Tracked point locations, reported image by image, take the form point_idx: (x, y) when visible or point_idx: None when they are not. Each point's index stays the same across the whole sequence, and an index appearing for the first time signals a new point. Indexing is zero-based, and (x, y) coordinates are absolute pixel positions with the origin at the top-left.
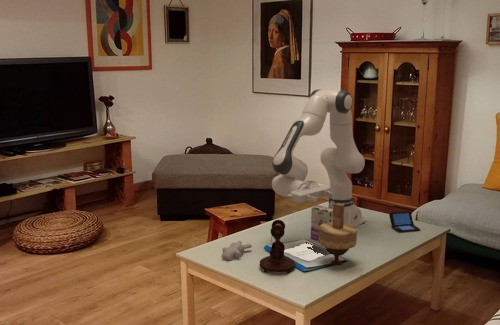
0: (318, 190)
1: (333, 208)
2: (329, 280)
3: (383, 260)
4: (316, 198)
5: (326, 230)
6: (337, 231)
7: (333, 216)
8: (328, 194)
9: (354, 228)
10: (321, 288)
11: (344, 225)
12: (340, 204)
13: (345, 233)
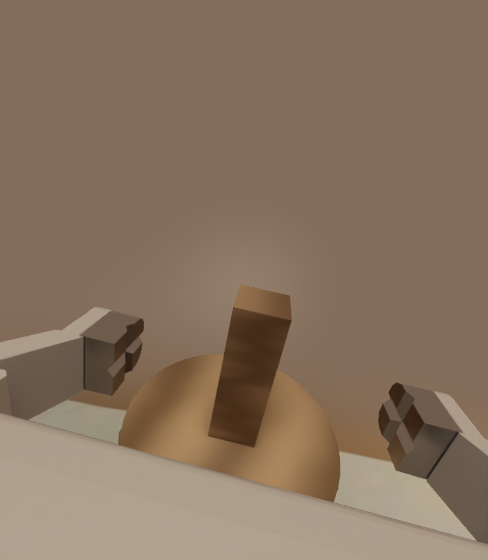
0: (148, 469)
1: (283, 345)
2: (337, 491)
3: (85, 411)
4: (429, 393)
5: (325, 451)
6: (289, 401)
7: (270, 388)
8: (120, 352)
9: (196, 362)
10: (393, 484)
11: (176, 408)
12: (257, 295)
13: (280, 372)
